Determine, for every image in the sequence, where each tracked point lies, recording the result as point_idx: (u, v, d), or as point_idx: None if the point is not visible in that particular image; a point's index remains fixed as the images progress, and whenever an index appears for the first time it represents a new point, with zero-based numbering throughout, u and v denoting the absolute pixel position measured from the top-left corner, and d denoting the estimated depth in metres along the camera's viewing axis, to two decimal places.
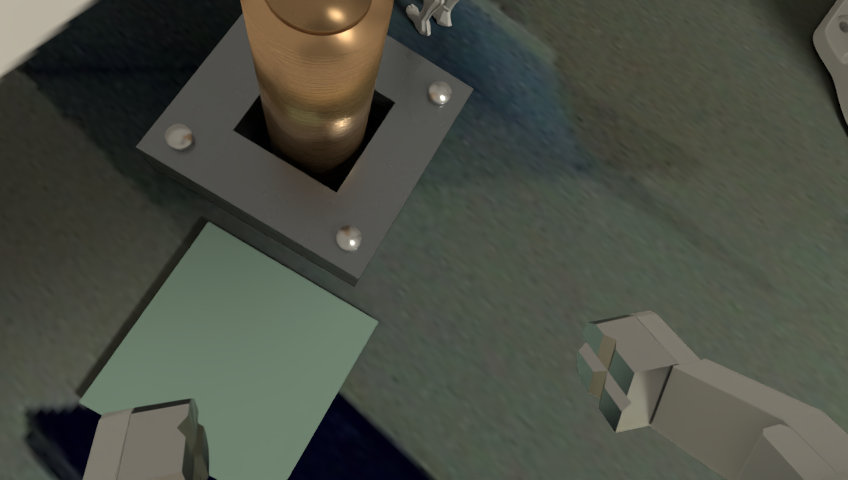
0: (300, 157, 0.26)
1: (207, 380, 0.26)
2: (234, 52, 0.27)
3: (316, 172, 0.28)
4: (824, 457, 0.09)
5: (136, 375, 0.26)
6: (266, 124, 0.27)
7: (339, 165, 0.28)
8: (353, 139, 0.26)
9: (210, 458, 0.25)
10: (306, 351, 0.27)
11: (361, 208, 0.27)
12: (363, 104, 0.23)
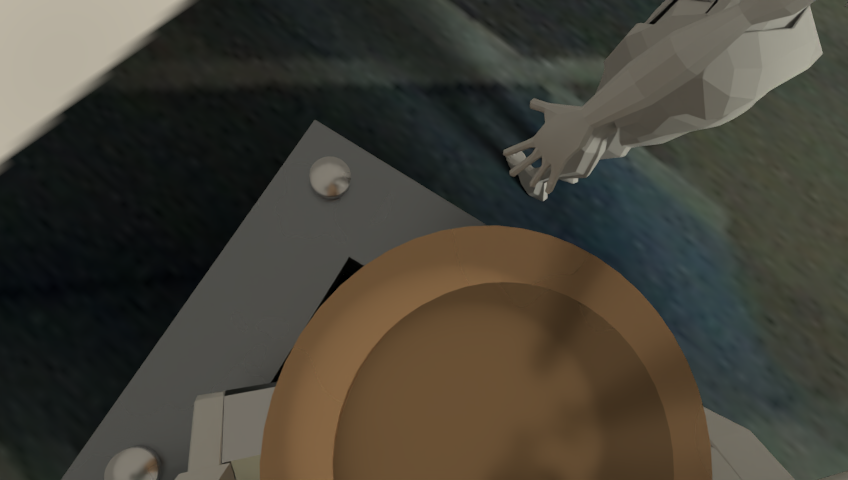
0: None
1: None
2: (238, 285, 0.15)
3: None
4: (744, 479, 0.08)
5: None
6: None
7: None
8: None
9: None
10: None
11: None
12: None
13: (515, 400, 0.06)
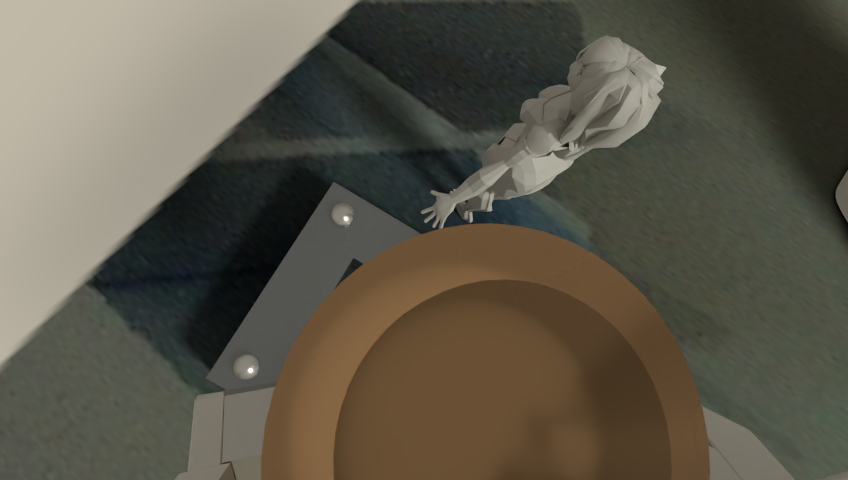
0: None
1: None
2: (294, 273, 0.29)
3: None
4: (745, 479, 0.08)
5: None
6: None
7: None
8: None
9: None
10: None
11: None
12: None
13: (514, 396, 0.06)
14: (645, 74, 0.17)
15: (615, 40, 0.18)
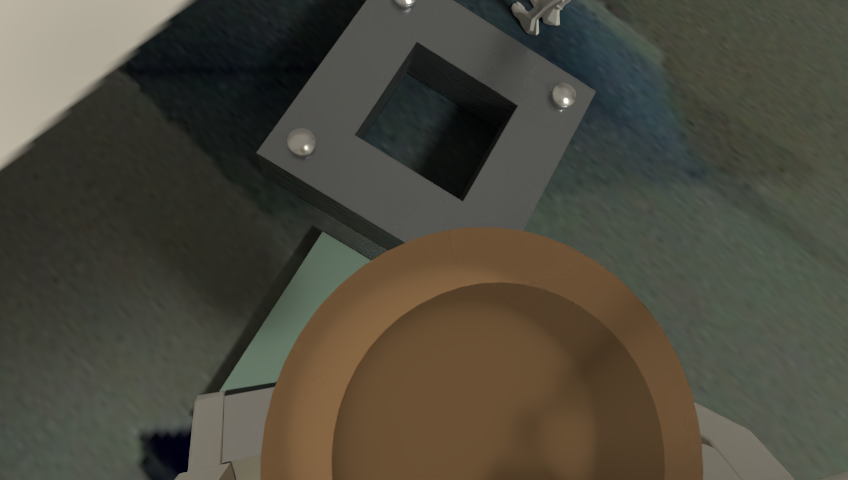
0: None
1: None
2: (352, 52, 0.26)
3: None
4: (744, 479, 0.08)
5: None
6: None
7: None
8: None
9: None
10: None
11: (488, 218, 0.25)
12: None
13: (510, 397, 0.06)
14: None
15: None
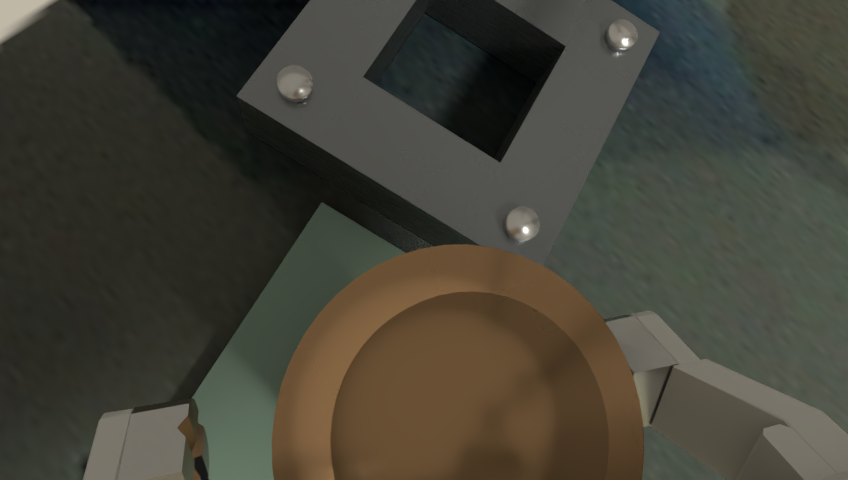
0: None
1: None
2: None
3: None
4: (824, 457, 0.09)
5: (234, 411, 0.19)
6: None
7: None
8: None
9: None
10: None
11: (532, 184, 0.20)
12: None
13: (478, 387, 0.07)
14: None
15: None
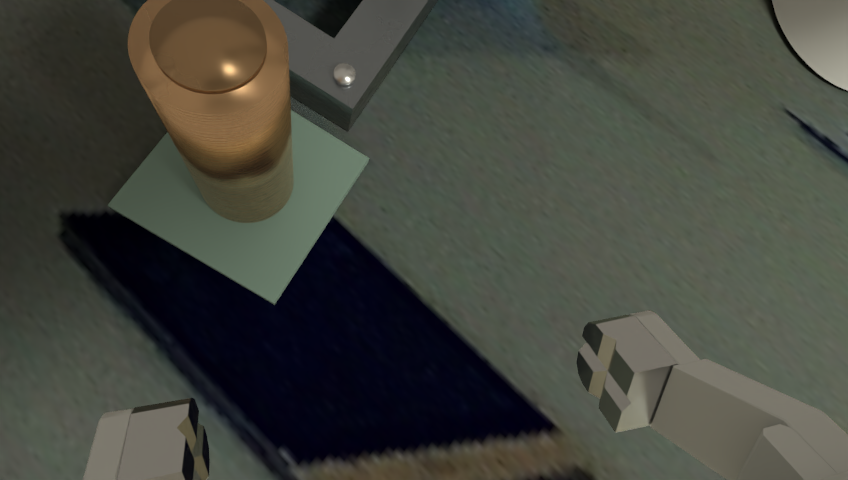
0: (222, 201, 0.26)
1: None
2: None
3: (242, 214, 0.28)
4: (824, 457, 0.09)
5: (157, 187, 0.29)
6: None
7: (265, 208, 0.28)
8: (274, 184, 0.26)
9: (222, 258, 0.29)
10: (306, 178, 0.31)
11: (355, 53, 0.31)
12: (275, 153, 0.23)
13: (211, 24, 0.18)
14: None
15: None
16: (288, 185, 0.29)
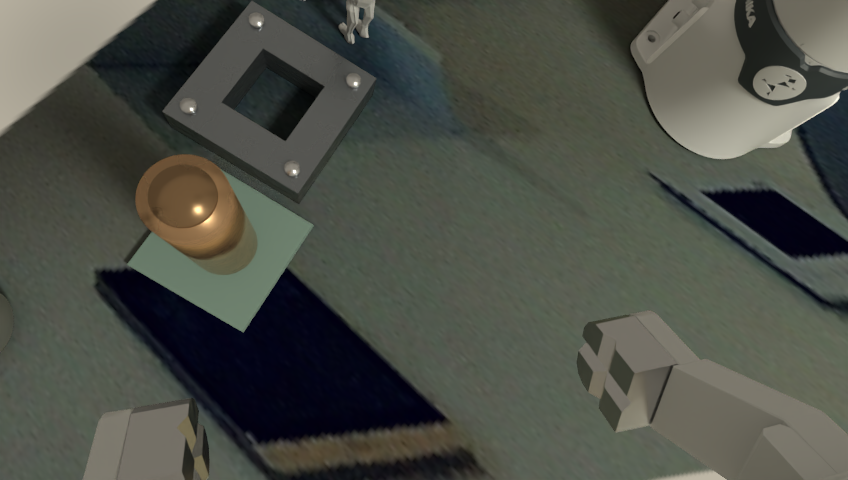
0: (203, 266, 0.39)
1: None
2: (223, 54, 0.44)
3: (219, 271, 0.41)
4: (824, 457, 0.09)
5: (161, 250, 0.42)
6: None
7: (234, 267, 0.41)
8: (237, 255, 0.38)
9: (206, 300, 0.42)
10: (266, 240, 0.44)
11: (300, 151, 0.43)
12: (233, 243, 0.35)
13: (184, 185, 0.30)
14: None
15: None
16: (250, 250, 0.41)
